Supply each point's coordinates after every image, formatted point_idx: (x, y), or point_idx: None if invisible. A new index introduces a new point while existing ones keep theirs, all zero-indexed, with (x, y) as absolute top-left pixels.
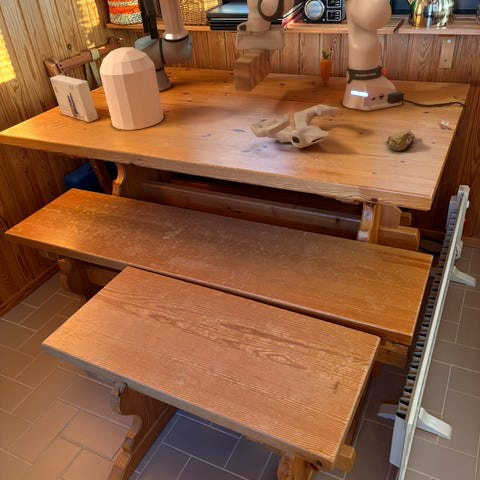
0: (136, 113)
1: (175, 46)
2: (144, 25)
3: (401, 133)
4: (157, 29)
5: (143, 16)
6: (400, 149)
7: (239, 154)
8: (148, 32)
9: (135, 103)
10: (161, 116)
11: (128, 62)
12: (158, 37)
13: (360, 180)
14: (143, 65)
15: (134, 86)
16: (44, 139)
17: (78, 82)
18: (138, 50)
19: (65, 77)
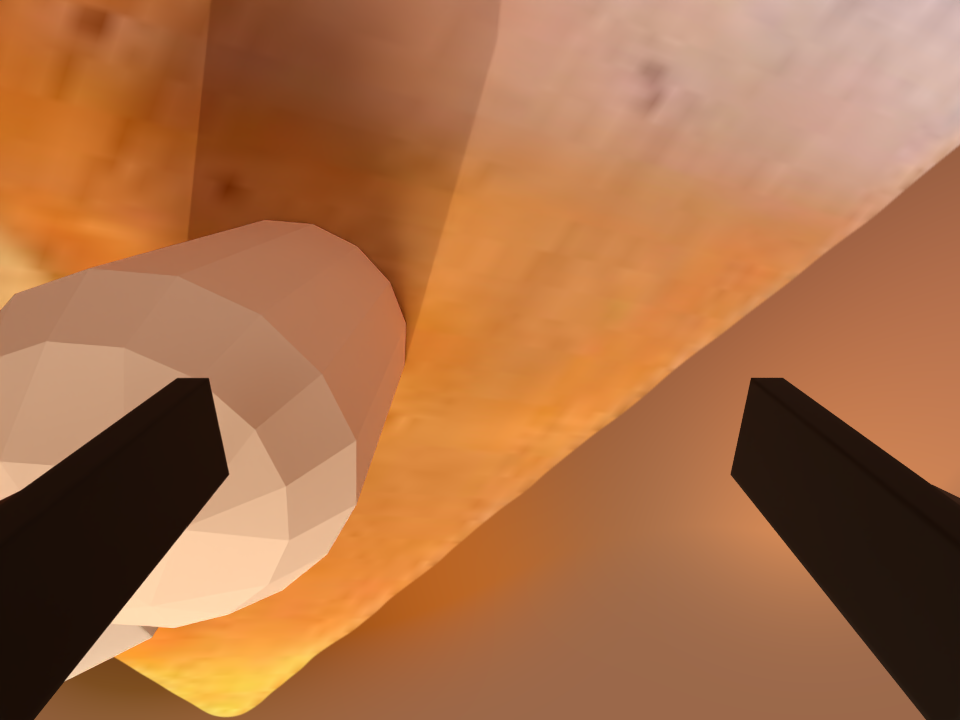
0: (396, 370)
1: None
2: (172, 520)
3: None
4: (864, 440)
5: (67, 630)
6: None
7: (949, 5)
8: (217, 424)
9: (388, 384)
10: (335, 239)
11: (295, 493)
12: (787, 390)
13: None
14: (282, 376)
15: (372, 412)
16: (342, 627)
17: (116, 633)
18: (50, 409)
19: None
